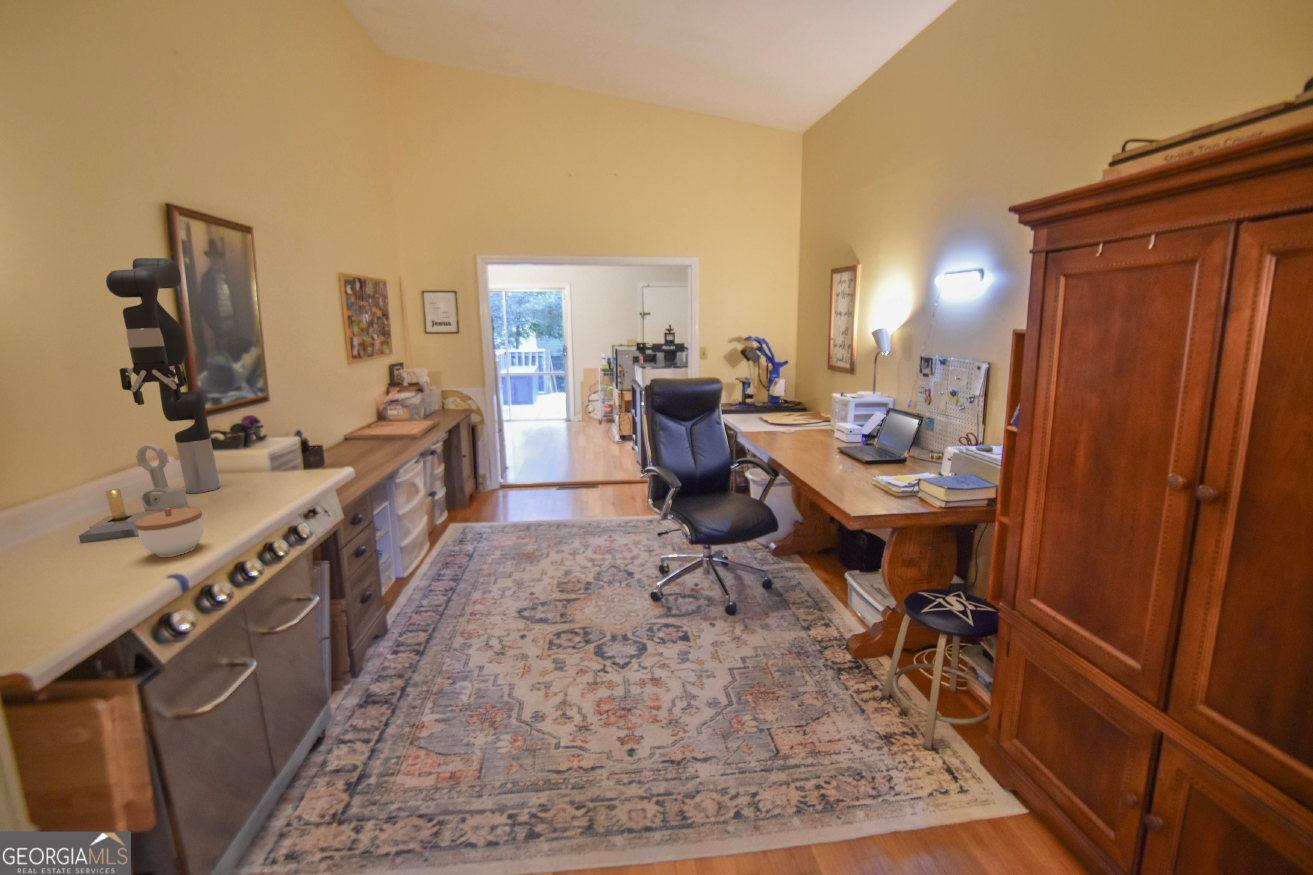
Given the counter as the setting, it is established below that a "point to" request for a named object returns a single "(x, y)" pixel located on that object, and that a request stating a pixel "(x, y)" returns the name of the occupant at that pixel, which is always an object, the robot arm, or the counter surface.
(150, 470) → the engine component
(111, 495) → the brass pin
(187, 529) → the lidded bowl
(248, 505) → the counter surface
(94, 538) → the gray slotted plate
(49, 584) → the counter surface
